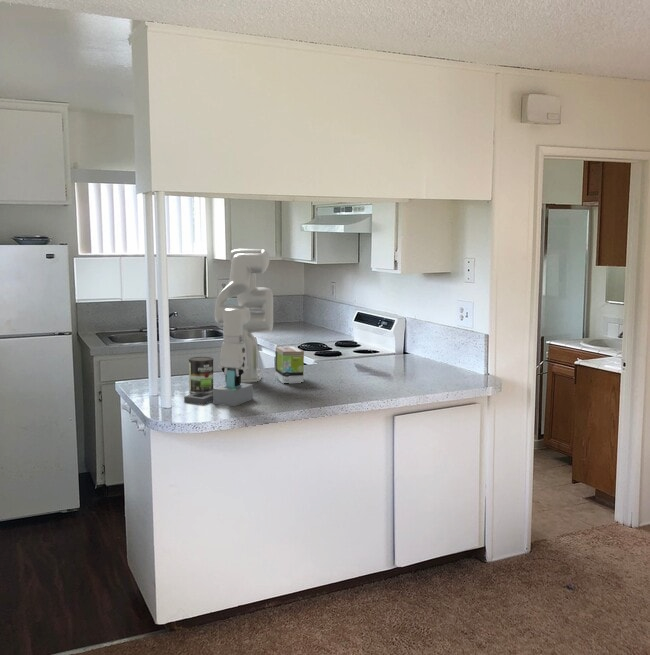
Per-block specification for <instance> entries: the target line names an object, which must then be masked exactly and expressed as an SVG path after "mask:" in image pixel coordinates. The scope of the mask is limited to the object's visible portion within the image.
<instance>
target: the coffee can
mask: <svg viewBox="0 0 650 655" xmlns="http://www.w3.org/2000/svg"><path fill="white" fill-rule="evenodd" d="M188 370H189V372H188V375H189V376H188V378H189V380H188V382H189V383H188V384H189V386H188V388H189V389H188V390H189V391H188V392H189V393H190V394H193V393H196V392H206V393H213V388H214V358H213V357H212V356H193V357H189V358H188Z"/></svg>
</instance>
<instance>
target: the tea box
mask: <svg viewBox="0 0 650 655" xmlns="http://www.w3.org/2000/svg"><path fill="white" fill-rule="evenodd" d="M274 355H275V356H274V357H275V360H274V361H275V365H274V366H275V367H274V369H275V370H274V373H275V376H274V377H275V378H276V379H277V380H278V381H279V382H281V384H284V383H289V384H302V383H301V382H303V383H304V369H305V366H304V365H305V362H304V361H305V350H303V349H301V348H298V347H297V346H275V354H274Z"/></svg>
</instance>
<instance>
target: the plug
mask: <svg viewBox="0 0 650 655" xmlns="http://www.w3.org/2000/svg"><path fill="white" fill-rule="evenodd" d="M235 376H236V370H235V368H229V370H227V373H226V378H225V384H226V388H232V389H235V388H238V387H240V385H239V386H235Z"/></svg>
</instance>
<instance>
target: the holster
mask: <svg viewBox="0 0 650 655" xmlns="http://www.w3.org/2000/svg"><path fill="white" fill-rule="evenodd" d="M183 398H184V400H183V402H184V403H189V404H195V405H196V404H197V405H206V404H208V403H212V402H213V392H211V393H206V392H196V393H190V394H188V395H185V396H183Z"/></svg>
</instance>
